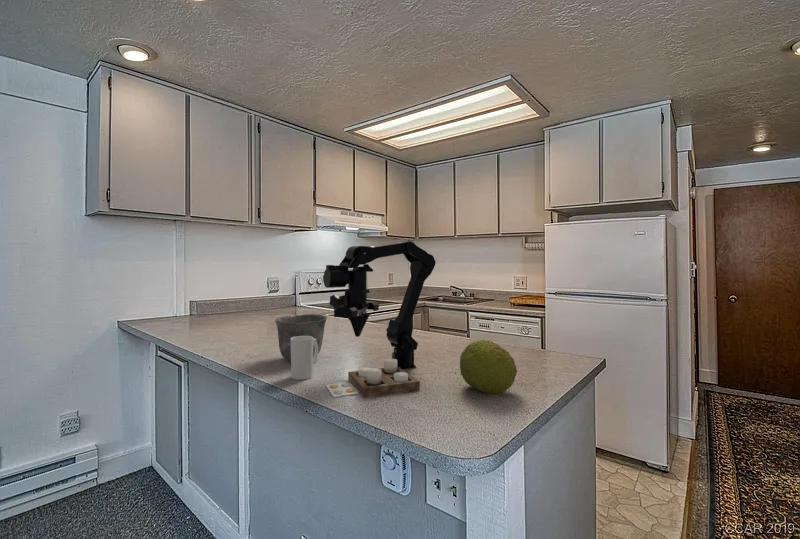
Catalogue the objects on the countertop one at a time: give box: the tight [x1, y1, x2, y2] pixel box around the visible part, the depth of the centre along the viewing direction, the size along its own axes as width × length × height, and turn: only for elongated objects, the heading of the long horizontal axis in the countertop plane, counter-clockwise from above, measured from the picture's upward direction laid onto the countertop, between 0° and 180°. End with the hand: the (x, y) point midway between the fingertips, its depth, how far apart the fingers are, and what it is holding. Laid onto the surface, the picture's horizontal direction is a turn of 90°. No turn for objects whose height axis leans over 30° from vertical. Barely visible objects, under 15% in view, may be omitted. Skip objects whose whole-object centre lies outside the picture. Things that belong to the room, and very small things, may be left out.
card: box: [325, 381, 360, 399], centre depth 109 cm, size 7×10×1 cm
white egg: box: [357, 367, 371, 378], centre depth 115 cm, size 4×4×3 cm
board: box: [347, 366, 421, 399], centre depth 113 cm, size 16×16×2 cm
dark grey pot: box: [274, 313, 327, 362], centre depth 140 cm, size 18×18×15 cm
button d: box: [367, 367, 381, 384], centre depth 108 cm, size 4×4×3 cm
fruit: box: [459, 339, 518, 394], centre depth 109 cm, size 16×14×15 cm
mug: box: [290, 336, 319, 381], centre depth 122 cm, size 10×7×12 cm, turn 147°
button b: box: [394, 371, 409, 382], centre depth 111 cm, size 4×4×3 cm
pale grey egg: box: [383, 358, 397, 373], centre depth 118 cm, size 4×4×3 cm
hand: (357, 336), depth 122 cm, fingers closed
